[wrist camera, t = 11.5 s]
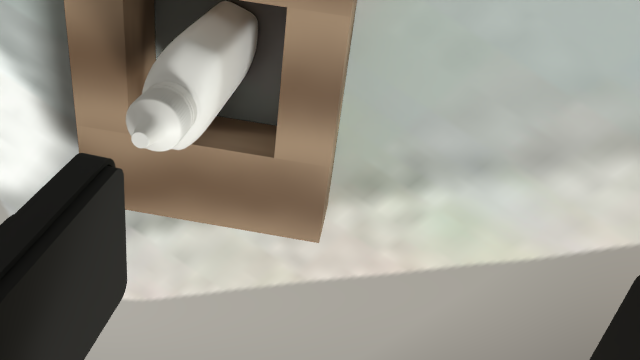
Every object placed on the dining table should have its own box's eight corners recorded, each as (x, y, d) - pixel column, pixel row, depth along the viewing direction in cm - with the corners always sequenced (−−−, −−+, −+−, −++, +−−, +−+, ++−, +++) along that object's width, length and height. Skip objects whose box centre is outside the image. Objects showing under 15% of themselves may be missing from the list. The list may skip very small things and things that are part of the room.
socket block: (91, -146, 29) (48, -146, 26) (372, -107, 28) (367, -102, 25) (113, 170, 38) (84, 202, 34) (327, 206, 37) (318, 243, 34)
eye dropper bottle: (163, 44, 33) (52, 130, 23) (238, -12, 31) (154, 55, 21) (211, 105, 35) (127, 212, 24) (286, 55, 33) (230, 150, 22)
